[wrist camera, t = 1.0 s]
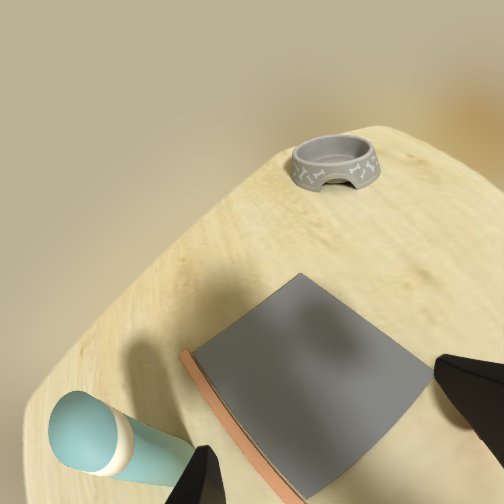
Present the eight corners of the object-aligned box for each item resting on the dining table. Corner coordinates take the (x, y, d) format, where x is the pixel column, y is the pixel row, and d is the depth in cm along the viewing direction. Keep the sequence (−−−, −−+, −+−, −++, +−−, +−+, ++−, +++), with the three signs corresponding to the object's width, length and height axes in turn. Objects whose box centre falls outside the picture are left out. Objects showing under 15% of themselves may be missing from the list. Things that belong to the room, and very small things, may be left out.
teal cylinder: (191, 495, 16) (87, 484, 8) (143, 474, 18) (40, 443, 10) (206, 445, 20) (115, 406, 12) (158, 430, 22) (65, 380, 14)
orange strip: (310, 508, 14) (310, 508, 13) (298, 516, 13) (298, 516, 13) (187, 349, 29) (186, 348, 29) (179, 355, 29) (178, 354, 29)
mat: (307, 499, 14) (306, 499, 14) (193, 353, 29) (192, 352, 28) (435, 373, 19) (436, 372, 19) (301, 275, 33) (301, 272, 33)
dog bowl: (295, 158, 60) (290, 137, 57) (372, 152, 54) (371, 130, 50) (287, 197, 48) (281, 171, 45) (388, 189, 42) (388, 162, 39)
